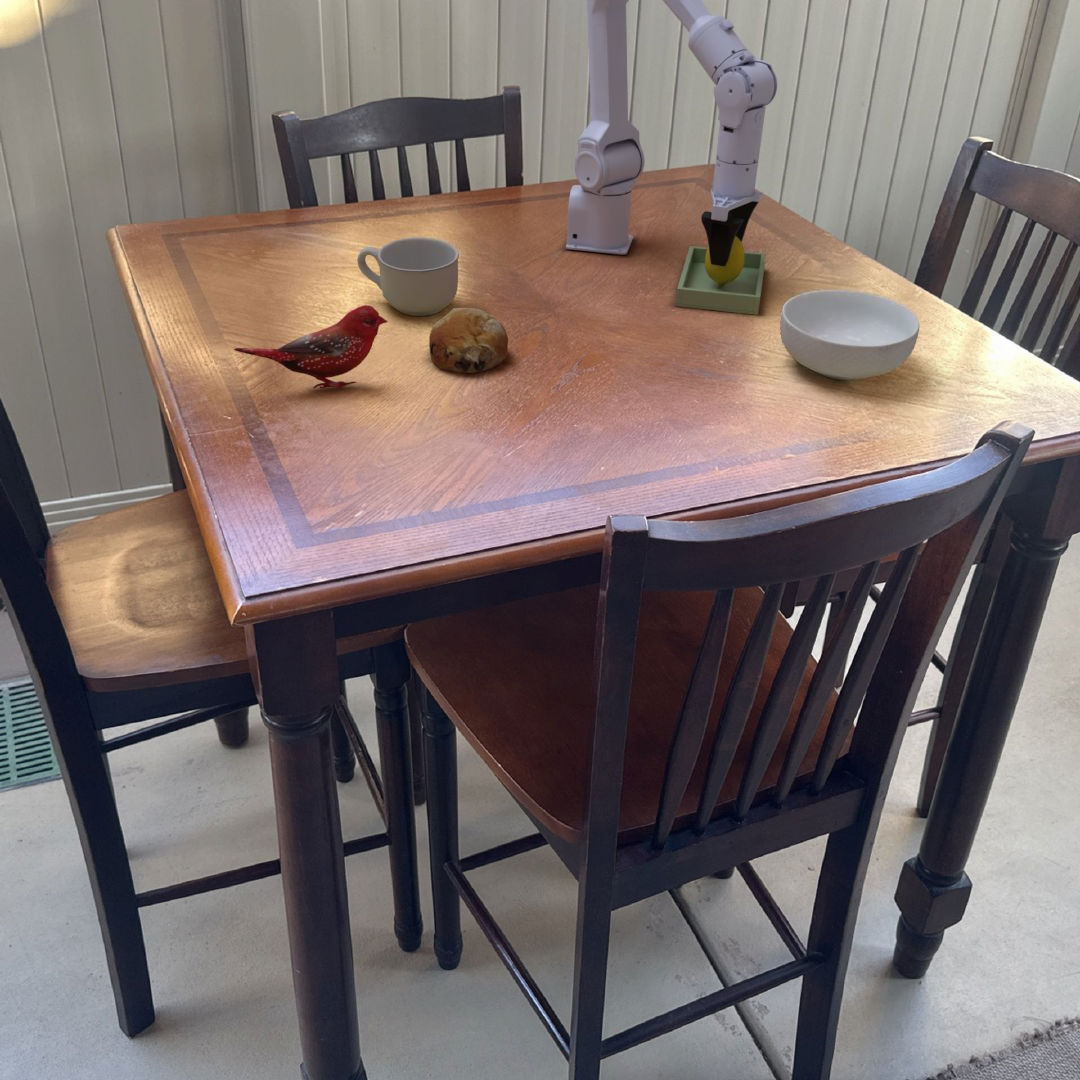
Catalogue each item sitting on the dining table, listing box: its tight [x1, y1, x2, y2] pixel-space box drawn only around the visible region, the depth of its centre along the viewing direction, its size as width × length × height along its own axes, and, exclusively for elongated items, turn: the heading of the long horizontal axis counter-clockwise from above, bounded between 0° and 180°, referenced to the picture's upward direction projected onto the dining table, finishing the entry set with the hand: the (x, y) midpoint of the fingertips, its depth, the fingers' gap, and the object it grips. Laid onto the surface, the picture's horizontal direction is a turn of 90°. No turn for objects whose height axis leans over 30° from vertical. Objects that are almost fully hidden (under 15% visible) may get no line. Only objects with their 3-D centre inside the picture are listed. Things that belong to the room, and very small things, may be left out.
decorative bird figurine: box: [233, 304, 388, 389], centre depth 131 cm, size 3×18×10 cm, turn 107°
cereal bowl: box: [779, 289, 920, 381], centre depth 141 cm, size 17×17×7 cm
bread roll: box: [428, 307, 509, 374], centre depth 141 cm, size 10×10×8 cm
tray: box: [675, 245, 767, 316], centre depth 163 cm, size 11×17×3 cm, turn 168°
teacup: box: [356, 236, 460, 317], centre depth 153 cm, size 14×11×8 cm
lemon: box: [705, 236, 745, 286], centre depth 161 cm, size 6×6×8 cm
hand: (725, 255), depth 160 cm, fingers open, 7 cm apart
